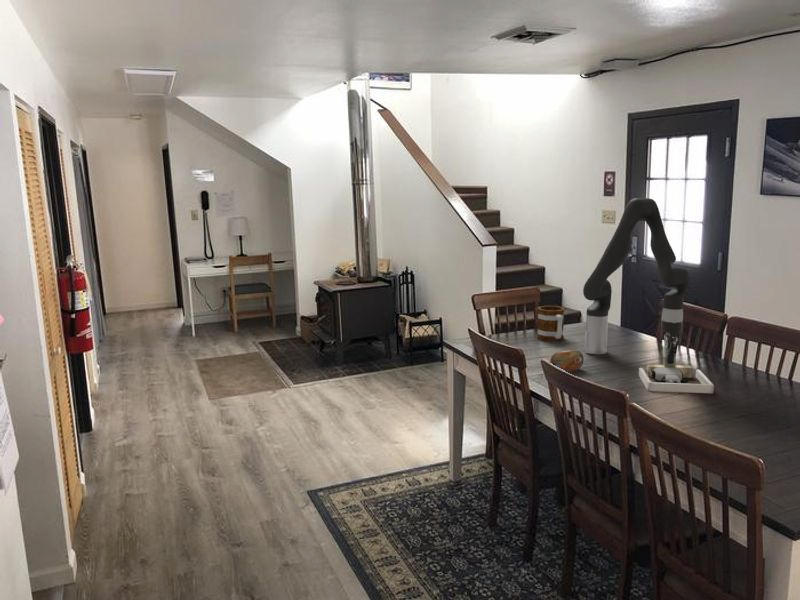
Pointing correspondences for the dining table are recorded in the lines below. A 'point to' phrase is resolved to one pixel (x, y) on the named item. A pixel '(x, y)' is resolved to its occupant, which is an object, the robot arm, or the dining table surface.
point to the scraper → (670, 365)
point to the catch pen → (678, 384)
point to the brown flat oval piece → (567, 360)
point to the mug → (550, 323)
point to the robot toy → (668, 375)
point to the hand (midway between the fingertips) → (669, 362)
